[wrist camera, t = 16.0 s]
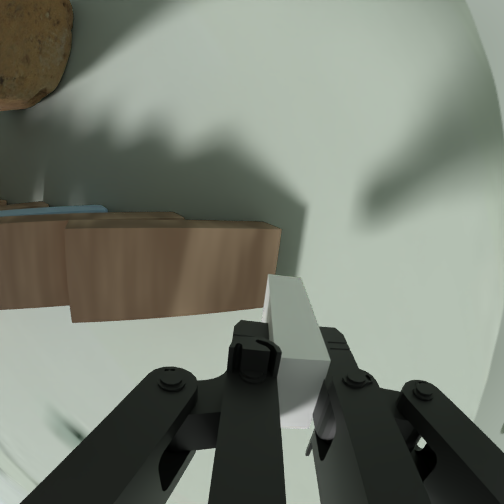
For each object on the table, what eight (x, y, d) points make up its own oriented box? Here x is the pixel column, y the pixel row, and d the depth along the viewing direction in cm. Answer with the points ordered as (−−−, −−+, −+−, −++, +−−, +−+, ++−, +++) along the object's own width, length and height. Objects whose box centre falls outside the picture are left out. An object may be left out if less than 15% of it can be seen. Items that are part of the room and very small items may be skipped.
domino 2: (169, 282, 22) (3, 294, 15) (173, 211, 20) (-5, 217, 14) (180, 294, 20) (-2, 309, 13) (184, 218, 18) (-13, 224, 12)
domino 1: (254, 293, 22) (73, 304, 16) (263, 221, 20) (68, 219, 15) (270, 306, 20) (72, 322, 14) (281, 229, 18) (64, 228, 13)
